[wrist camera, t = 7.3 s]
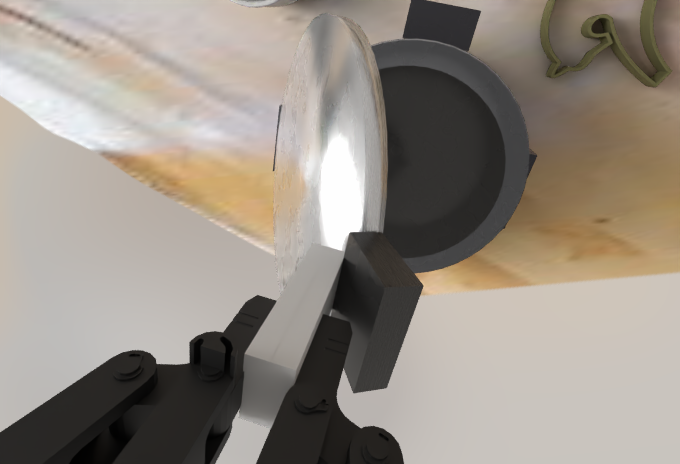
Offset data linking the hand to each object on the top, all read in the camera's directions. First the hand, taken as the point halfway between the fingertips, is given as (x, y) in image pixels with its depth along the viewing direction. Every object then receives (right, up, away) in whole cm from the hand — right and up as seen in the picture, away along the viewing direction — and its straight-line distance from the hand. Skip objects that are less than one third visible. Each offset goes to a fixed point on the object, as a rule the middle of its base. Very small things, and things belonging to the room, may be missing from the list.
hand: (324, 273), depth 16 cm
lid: (0, +4, +7) cm, 8 cm away
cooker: (+8, +12, +25) cm, 28 cm away
